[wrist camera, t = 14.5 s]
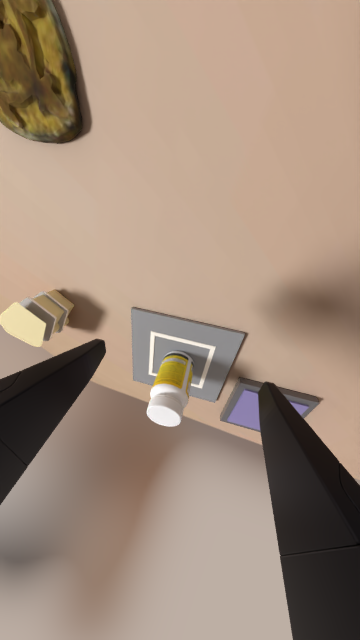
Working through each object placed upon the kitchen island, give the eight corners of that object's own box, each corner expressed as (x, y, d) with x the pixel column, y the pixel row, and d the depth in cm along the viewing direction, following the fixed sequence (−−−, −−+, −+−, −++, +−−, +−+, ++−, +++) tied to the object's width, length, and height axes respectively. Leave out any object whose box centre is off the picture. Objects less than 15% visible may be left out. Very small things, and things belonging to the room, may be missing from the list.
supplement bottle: (158, 356, 26) (134, 408, 19) (181, 345, 23) (164, 399, 16) (177, 376, 27) (161, 431, 20) (200, 367, 25) (193, 425, 18)
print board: (244, 332, 21) (245, 335, 20) (215, 400, 29) (214, 403, 28) (132, 307, 22) (130, 308, 22) (134, 378, 30) (132, 380, 30)
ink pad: (316, 396, 24) (320, 405, 23) (280, 432, 30) (283, 440, 29) (239, 377, 25) (240, 384, 24) (220, 415, 31) (220, 422, 30)
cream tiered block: (40, 262, 22) (-7, 274, 18) (95, 308, 24) (66, 329, 20) (24, 306, 27) (-16, 324, 23) (71, 340, 29) (43, 363, 25)
